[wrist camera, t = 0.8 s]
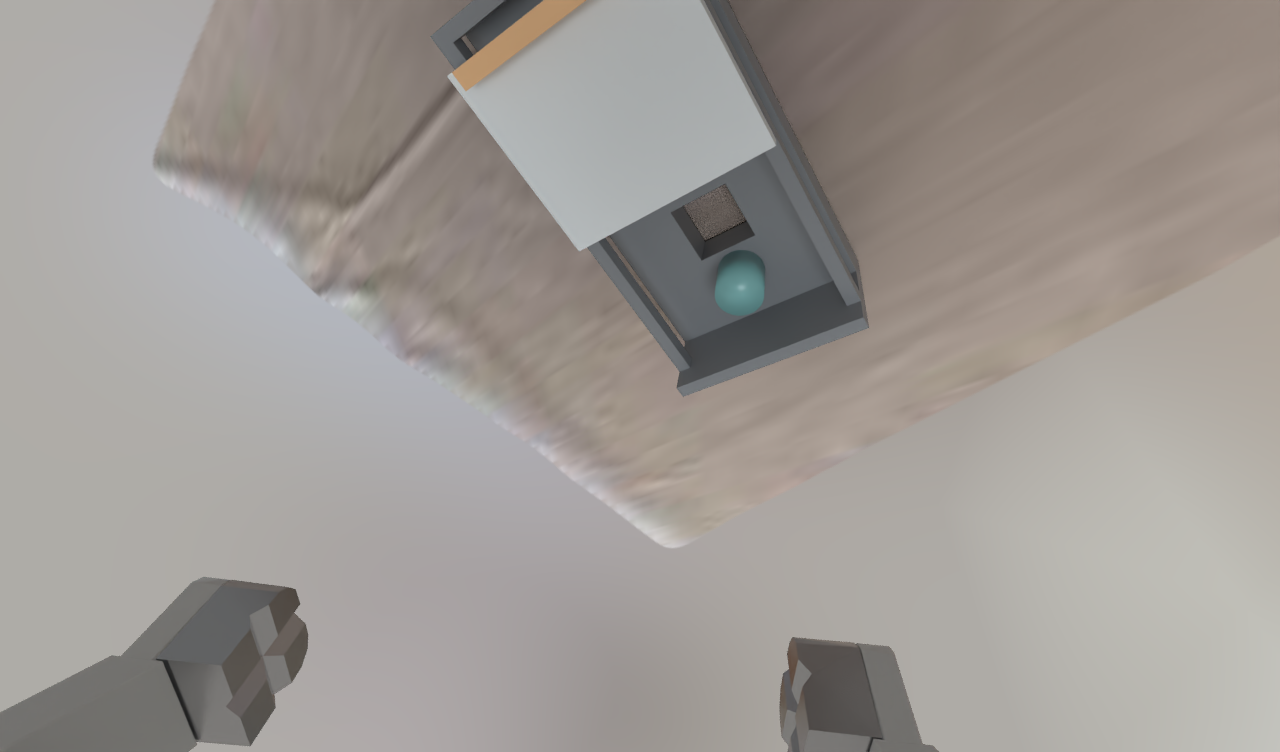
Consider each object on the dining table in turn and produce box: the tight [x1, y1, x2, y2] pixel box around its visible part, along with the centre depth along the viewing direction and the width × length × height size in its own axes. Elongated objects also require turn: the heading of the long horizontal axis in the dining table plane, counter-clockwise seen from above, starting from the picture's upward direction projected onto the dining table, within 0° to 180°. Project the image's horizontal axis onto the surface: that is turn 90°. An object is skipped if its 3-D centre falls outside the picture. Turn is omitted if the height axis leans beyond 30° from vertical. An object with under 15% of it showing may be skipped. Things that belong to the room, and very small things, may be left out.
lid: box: [447, 0, 776, 251], centre depth 39 cm, size 15×14×3 cm
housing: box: [430, 0, 869, 397], centre depth 45 cm, size 15×30×9 cm, turn 33°
